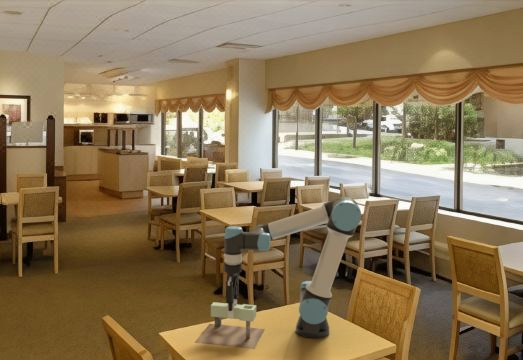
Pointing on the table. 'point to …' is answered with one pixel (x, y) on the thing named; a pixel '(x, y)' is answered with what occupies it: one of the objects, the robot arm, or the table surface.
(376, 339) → the table surface
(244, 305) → the link
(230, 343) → the pintle board
